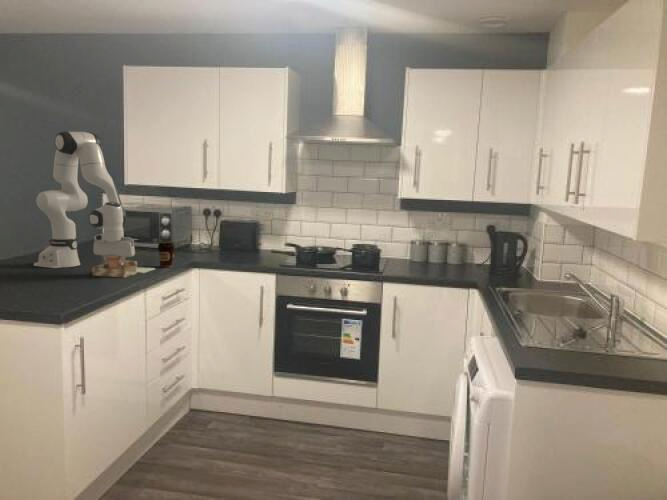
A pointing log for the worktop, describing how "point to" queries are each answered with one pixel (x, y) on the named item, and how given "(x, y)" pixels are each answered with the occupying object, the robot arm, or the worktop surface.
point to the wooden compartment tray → (116, 270)
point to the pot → (114, 262)
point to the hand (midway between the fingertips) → (114, 264)
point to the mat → (143, 269)
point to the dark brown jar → (166, 254)
